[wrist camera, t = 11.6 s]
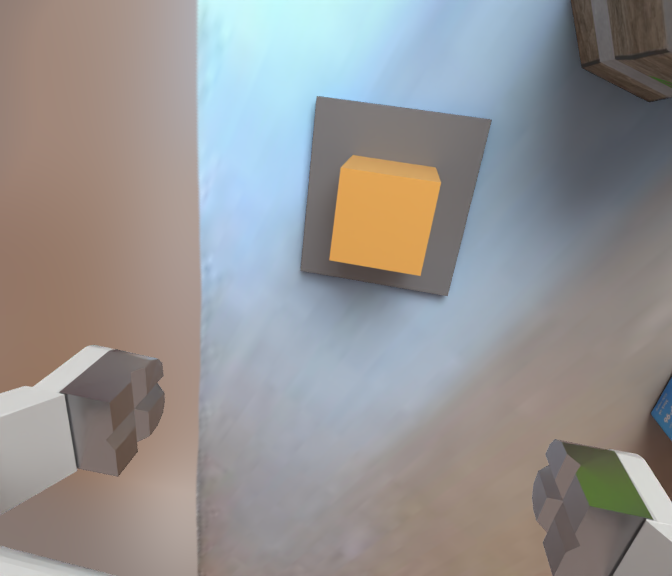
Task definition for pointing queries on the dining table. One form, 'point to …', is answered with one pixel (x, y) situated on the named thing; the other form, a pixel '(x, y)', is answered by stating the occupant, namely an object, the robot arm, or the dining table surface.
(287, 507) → the dining table surface
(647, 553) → the robot arm
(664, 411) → the ink box
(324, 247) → the plate
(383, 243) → the orange cubic block
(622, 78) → the mug
